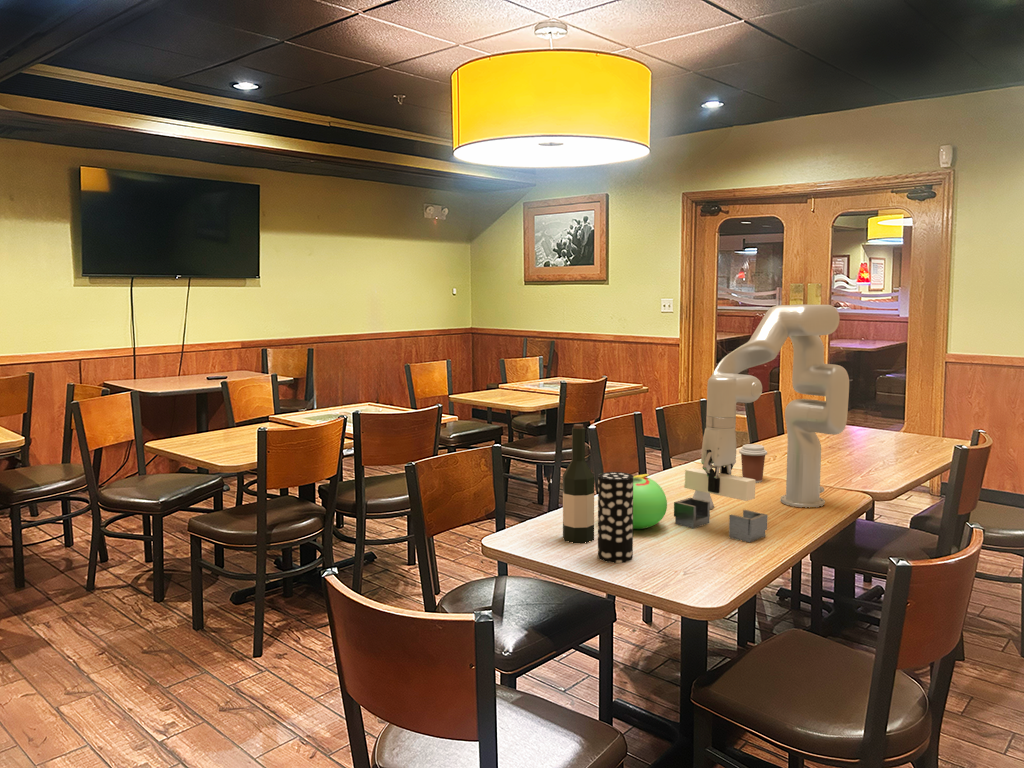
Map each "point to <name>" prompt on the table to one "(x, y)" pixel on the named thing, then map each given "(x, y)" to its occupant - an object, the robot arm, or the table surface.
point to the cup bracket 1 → (692, 512)
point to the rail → (721, 484)
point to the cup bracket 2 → (748, 526)
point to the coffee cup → (753, 461)
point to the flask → (703, 497)
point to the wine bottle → (578, 493)
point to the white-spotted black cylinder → (615, 517)
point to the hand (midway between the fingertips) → (718, 490)
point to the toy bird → (647, 502)
